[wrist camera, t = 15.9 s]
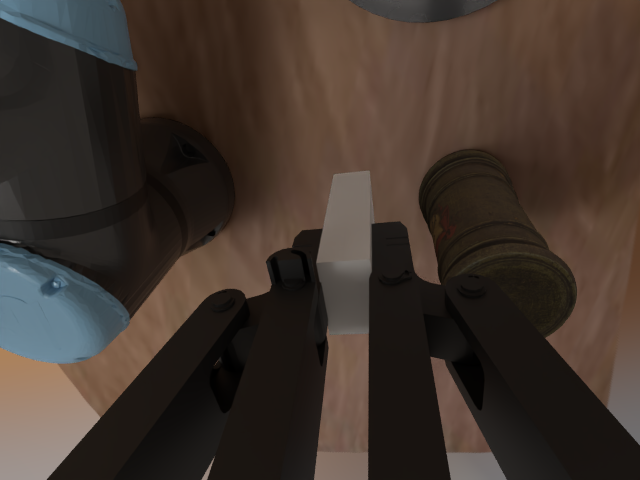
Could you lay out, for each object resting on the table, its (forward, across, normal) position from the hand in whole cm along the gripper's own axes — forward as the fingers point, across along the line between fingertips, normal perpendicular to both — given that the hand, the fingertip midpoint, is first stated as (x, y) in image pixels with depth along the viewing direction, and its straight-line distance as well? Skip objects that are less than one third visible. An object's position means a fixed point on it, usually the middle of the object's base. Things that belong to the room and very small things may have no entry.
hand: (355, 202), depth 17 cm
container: (+24, +9, -11) cm, 28 cm away
